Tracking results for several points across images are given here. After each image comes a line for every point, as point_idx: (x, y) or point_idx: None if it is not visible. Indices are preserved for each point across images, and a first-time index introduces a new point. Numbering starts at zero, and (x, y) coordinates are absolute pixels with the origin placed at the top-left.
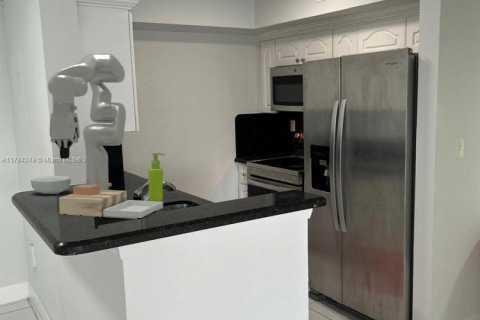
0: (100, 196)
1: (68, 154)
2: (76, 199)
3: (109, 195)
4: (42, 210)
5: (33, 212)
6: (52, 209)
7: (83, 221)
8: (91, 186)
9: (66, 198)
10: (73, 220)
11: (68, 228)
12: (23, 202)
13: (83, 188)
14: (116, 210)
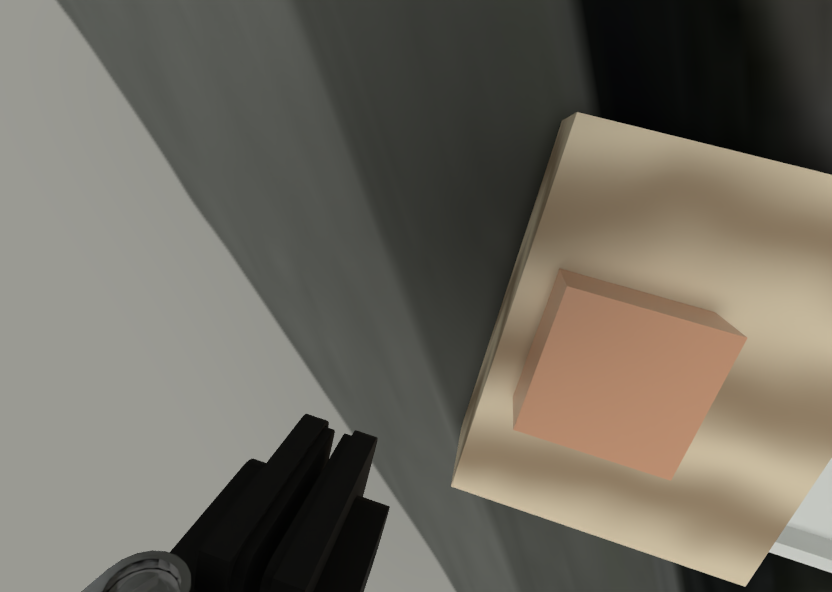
0: (732, 476)
1: (377, 545)
2: (569, 522)
3: (805, 441)
4: (335, 323)
5: (314, 371)
6: (376, 298)
7: (623, 581)
8: (668, 424)
9: (500, 500)
10: (570, 556)
11: None
12: (110, 68)
13: (602, 453)
14: (821, 568)
